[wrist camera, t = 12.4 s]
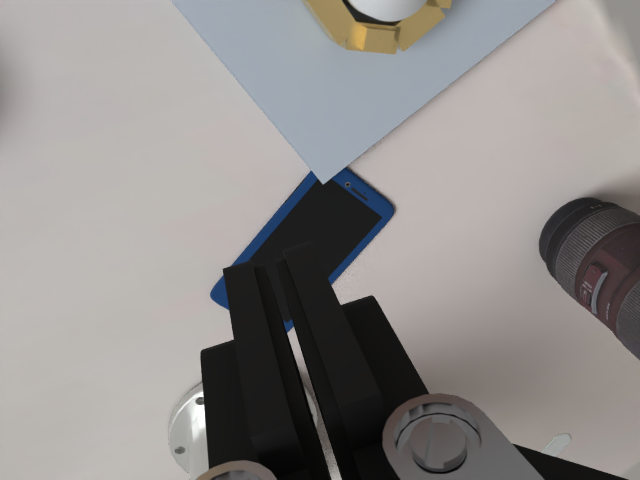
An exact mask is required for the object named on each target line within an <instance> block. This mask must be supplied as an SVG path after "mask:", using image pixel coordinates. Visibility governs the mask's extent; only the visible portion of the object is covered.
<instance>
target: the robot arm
mask: <svg viewBox="0 0 640 480" xmlns="http://www.w3.org/2000/svg"><path fill="white" fill-rule="evenodd" d="M283 253H284V257H285V258H282V259H279V260H276V261H274V263H275V266H276V269H277V272H278V276H279V279H280V282H281V285H282V289H283V292H284V295H285V299H286V302H287V305H288V308H289V312H290V315H291V318H292V321H293V325H294V328H295V331H296V335H297V338H298V341H299V344H300V348H301V351H302V354H303V357H304V361H305V364H306V367H307V370H308V374H309V377H310V380H311V383H312V386H313V390H314V393H315V396H316V399H317V402H318V405H319V409H320V412H321V415H322V418H323V421H324V424H325V427H326V431H327V434H328V437H329V440H330V443H331V446H332V450H333V453H334V456H335V459H336V462H337V465H338V468H339V472H340V475H341V478H342V480H628V479H625V478H621V477H618V476H615V475H612V474H609V473H605V472H602V471H599V470H596V469H592V468H589V467H586V466H583V465H580V464H576V463H573V462H570V461H567V460H563V459H560V458H557V457H554V456H551V455H547V454H544V453H541V452H538V451H535V450H531V449H528V448H525V447H522V446H518V445H515V444H512V443H511V442H510V441H509V440H508V439H507V438H506V437H505V436H504V434H503V433H502V432H501V431H500V430H499V429H498V428H497V427H496V426H495V424H494V423H493V422H492V421H491V420H490V419H489V418H488V417H487V416H486V415H485V413H484V412H482V411H481V410H480V409H479V408H478V407H476V406H475V405H474V404H473V403H471V402H469V401H467V400H465V399H462V398H460V397H458V396H454V395H447V394H441V393H439V394H429V392H428V390H427V389H426V387H425V385H424V383H423V382H422V380H421V378H420V376H419V374H418V373H417V371H416V369H415V367H414V366H413V364H412V362H411V360H410V359H409V357H408V355H407V353H406V352H405V350H404V348H403V346H402V344H401V343H400V341H399V339H398V337H397V336H396V334H395V332H394V330H393V329H392V327H391V325H390V323H389V321H388V320H387V318H386V316H385V314H384V313H383V311H382V309H381V307H380V306H379V304H378V302H377V300H376V299H375V297H374V296H372V295H371V296H368V297H365V298H361V299H358V300H355V301H352V302H349V303H346V304H343V305H340V303H339V301H338V299H337V297H336V294H335V292H334V290H333V288H332V286H331V284H330V281H329V279H328V277H327V275H326V273H325V271H324V268H323V266H322V264H321V262H320V260H319V258H318V255H317V253H316V251H315V249H314V247H313V245H312V243H311V242H308V243H305V244H301V245H298V246H295V247H292V248H288V249H285V250H283ZM223 274H224V280H225V286H226V293H227V299H228V305H229V311H230V317H231V324H232V330H233V336H234V340H231V341H228V342H225V343H222V344H219V345H216V346H213V347H210V348H207V349H203V350H202V351H201V372H202V383H201V384H199V385H198V386H196V387H195V388H193V389H192V390H191V391H190V392H189V393H188V394H187V395H186V396H185V397H184V398H183V399H182V400H181V401H180V402H179V404H178V405H177V407H176V408H175V410H174V412H173V414H172V417H171V419H170V423H169V430H168V440H169V448H170V452H171V455H172V456H173V458H174V460H175V461H176V463H177V464H178V465H179V466H180V467H181V468H182V469H183V470H184V471H186V472H187V473H189V480H331V476H330V473H329V470H328V466H327V463H326V460H325V456H324V453H323V450H322V446H321V443H320V439H319V436H318V433H317V429H316V428H317V417H318V416H317V412H316V407H315V404H314V401H313V399H312V396H311V394H310V393H309V391H308V390H307V389H306V387H305V386H304V385H303V382H302V379H301V376H300V373H299V370H298V366H297V363H296V360H295V357H294V354H293V351H292V347H291V344H290V341H289V338H288V335H287V332H286V328H285V325H284V322H283V319H282V316H281V313H280V310H279V306H278V303H277V300H276V297H275V294H274V291H273V287H272V284H271V281H270V278H269V275H268V272H267V269H266V265H265V264H263V265H260V266H257V267H254V265H253V262H252V260H250V261H246V262H243V263H240V264H237V265H233V266H230V267H227V268H224V269H223Z"/></svg>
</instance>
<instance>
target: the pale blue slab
mask: <svg viewBox="0 0 640 480" xmlns="http://www.w3.org/2000/svg"><path fill="white" fill-rule="evenodd" d="M426 1H427V0H342V2H343V3H344V5H345V6H346V8H347V9H348V11H349V12H350V14H351V15H352V17H353V18H359V19H368V20H376V21H390V22H391V21H399V20H402V19H405V18H407V17H409V16H411V15H413V14H414V13H416V12H417V11H418V10H419V9H420V8H421V7H422V6H423V5H424V4H425V3H426ZM555 1H556V0H452V2H451V7H450V9H448V8H441V10H442V12H443V14H444V15H445V17H444V18H443V19H442V20H441V21H440V22H439V23H437V24H436V25H435V26H434V27H433V28H431V29H430V30H429V31H428V32H427V33H426V34H424V35H423V36H422V37H421V38H420V39H418V40H417V41H416V42H415V43H414V44H412V45H411V46H410V47H409V48H408V49H407V50H405V51H404V52H403V51H401V50H399V49H397V51H396V55H395V54H384V53H374V52H364V51H353V50H346V49H344V48H343V47H341V46H340V45H337V44H336V43H334V42H333V41H331V40H330V39H329V38H328V37H327V35H326V34H325V32H324V31H323V30H322V28H321V27H320V26H319V24H318V23H317V21H316V20H315V19H314V17H313V16H312V15H311V13H310V12H309V10H308V9H307V8H306V6H305V5H304V4H303V2H302V1H301V0H171V2H172V3H173V4H174V5H175V6H176V8H177V9H178V10H179V11H180V12H181V14H182V15H183V16H184V17H185V19H186V20H187V21H188V22H189V23H190V25H191V26H192V27H193V28H194V29H195V31H196V32H197V33H198V34H199V35H200V37H201V38H202V39H203V40H204V41H205V43H206V44H207V45H208V46H209V47H210V49H211V50H212V51H213V52H214V54H215V55H216V56H217V57H218V58H219V60H220V61H221V62H222V63H223V64H224V66H225V67H226V68H227V69H228V70H229V72H230V73H231V74H232V75H233V76H234V78H235V79H236V80H237V81H238V82H239V84H240V85H241V86H242V87H243V89H244V90H245V91H246V92H247V93H248V95H249V96H250V97H251V98H252V99H253V101H254V102H255V103H256V104H257V105H258V107H259V108H260V109H261V110H262V111H263V113H264V114H265V115H266V116H267V117H268V119H269V120H270V121H271V122H272V124H273V125H274V126H275V127H276V128H277V130H278V131H279V132H280V133H281V134H282V136H283V137H284V138H285V139H286V140H287V142H288V143H289V144H290V145H291V146H292V148H293V149H294V150H295V151H296V152H297V154H298V155H299V156H300V157H301V159H302V160H303V161H304V162H305V163H306V165H307V166H308V167H309V168H310V169H311V171H312V172H313V173H314V174H315V175H316V177H317V178H318V179H319V180H320V181H321V183H322V184H324V183H326V182H327V181H328V180H330V179H331V178H332V177H333V176H335V175H336V174H337V173H338V172H340V171H341V170H342V169H343V168H345V167H346V166H347V165H349V164H350V163H351V162H352V161H354V160H355V159H356V158H357V157H359V156H360V155H361V154H362V153H364V152H365V151H366V150H368V149H369V148H370V147H371V146H373V145H374V144H375V143H376V142H378V141H379V140H380V139H381V138H383V137H384V136H385V135H387V134H388V133H389V132H390V131H392V130H393V129H394V128H395V127H397V126H398V125H399V124H400V123H402V122H403V121H404V120H406V119H407V118H408V117H409V116H411V115H412V114H413V113H414V112H416V111H417V110H418V109H419V108H421V107H422V106H423V105H425V104H426V103H427V102H428V101H430V100H431V99H432V98H433V97H435V96H436V95H437V94H438V93H440V92H441V91H442V90H443V89H445V88H446V87H447V86H449V85H450V84H451V83H452V82H454V81H455V80H456V79H457V78H459V77H460V76H461V75H462V74H464V73H465V72H466V71H468V70H469V69H470V68H471V67H473V66H474V65H475V64H476V63H478V62H479V61H480V60H481V59H483V58H484V57H485V56H487V55H488V54H489V53H490V52H492V51H493V50H494V49H495V48H497V47H498V46H499V45H500V44H502V43H503V42H504V41H506V40H507V39H508V38H509V37H511V36H512V35H513V34H514V33H516V32H517V31H518V30H519V29H521V28H522V27H523V26H525V25H526V24H527V23H528V22H530V21H531V20H532V19H533V18H535V17H536V16H537V15H538V14H540V13H541V12H542V11H544V10H545V9H546V8H547V7H549V6H550V5H551V4H552V3H554V2H555Z"/></svg>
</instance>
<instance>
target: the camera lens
mask: <svg viewBox="0 0 640 480" xmlns="http://www.w3.org/2000/svg"><path fill="white" fill-rule="evenodd" d="M539 252H540V255H541V257H542V259H543V261H544V262H545V263H546V265H547V269H548V271H549V273H550V274H551V275H552V277H553V278H554V279H555V280H556V281H557V282H558V283H559V284H560V285H561V287H562V288H563V289H564V290H565V291H566V292H567V293H568V294H569V295H570V296H571V297H572V298H573V299H575V300H576V301H577V302H578V303H579V304H580V305H582V306H583V307H585V308H586V309H587V310H588V311H589V312H591V313H592V314H593V315H594V316H595V317H596V318H598V319H599V320H600V321H601V322H602V323H603V324H605V325H606V326H607V327H608V328H609V329H610V330H611V331H612V332H613V333H614V335H615V336H616V337H617V338H618V339H619V340H620V341H621V342H622V344H623V345H624V346H625V347H626V348H627V349H628V350H629V351H630V352H631V353H632V354H634V355H635V356H636V357H637V358H638V359H639V360H640V216H639V215H637V214H636V213H634V212H631V211H629V210H627V209H624V208H622V207H620V206H618V205H616V204H614V203H610V202H602V201H600V200H597V199H593V198H583V199H577V200H575V201H572V202H569V203H568V204H566V205H564V206H563V207H561V208H560V209H558V210H557V211H556V212H555V213H554V214H553V215H552V216H551V217H550V219H549V220H548V221H547V223H546V224H545V226H544V228H543V230H542V232H541V236H540V239H539Z"/></svg>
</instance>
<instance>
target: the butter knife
mask: <svg viewBox="0 0 640 480" xmlns="http://www.w3.org/2000/svg"><path fill="white" fill-rule="evenodd" d="M570 441H571V436H570V434H567V433H562V434H559V435H557V436H555V437H554V438H553V439H552V440H551V442H550V443H549V444H548V445H547V446H546V447H545V448H544V450H543V451H542V452H541V453H544V454H547V455H551V456H554V457H556V456H557V455H558V454H559V453H561V452H562V450H563V449H564V448H565V447H566V446H567V445H568V444H569V443H570Z"/></svg>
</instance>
